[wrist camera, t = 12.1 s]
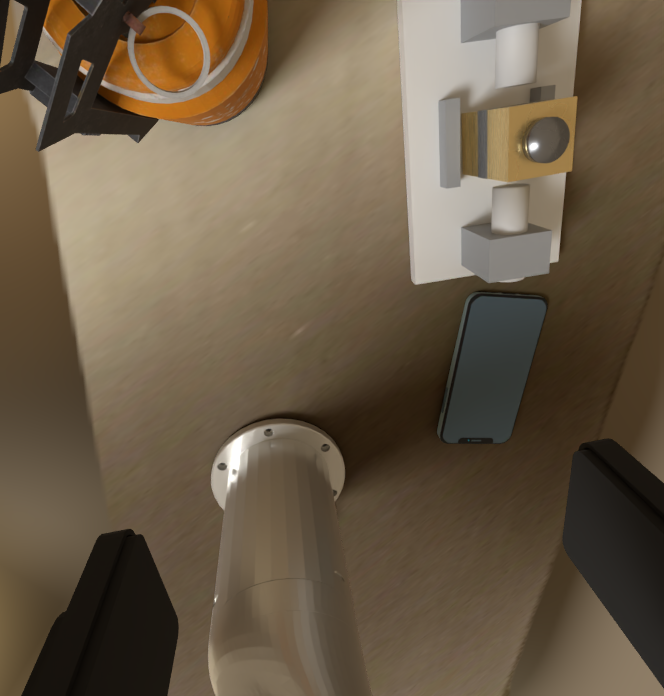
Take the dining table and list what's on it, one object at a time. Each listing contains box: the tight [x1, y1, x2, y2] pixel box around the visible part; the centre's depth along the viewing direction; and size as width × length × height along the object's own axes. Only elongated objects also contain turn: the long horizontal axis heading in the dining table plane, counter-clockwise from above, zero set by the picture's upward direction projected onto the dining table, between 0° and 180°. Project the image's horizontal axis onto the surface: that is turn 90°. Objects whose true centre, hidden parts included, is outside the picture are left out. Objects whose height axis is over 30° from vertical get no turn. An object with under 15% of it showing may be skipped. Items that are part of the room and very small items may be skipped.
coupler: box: [461, 96, 577, 182], centre depth 29 cm, size 4×4×8 cm
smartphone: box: [437, 291, 548, 444], centre depth 42 cm, size 8×2×15 cm
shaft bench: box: [397, 0, 582, 285], centre depth 31 cm, size 20×12×6 cm, turn 7°
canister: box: [0, 0, 268, 152], centre depth 21 cm, size 9×11×20 cm
